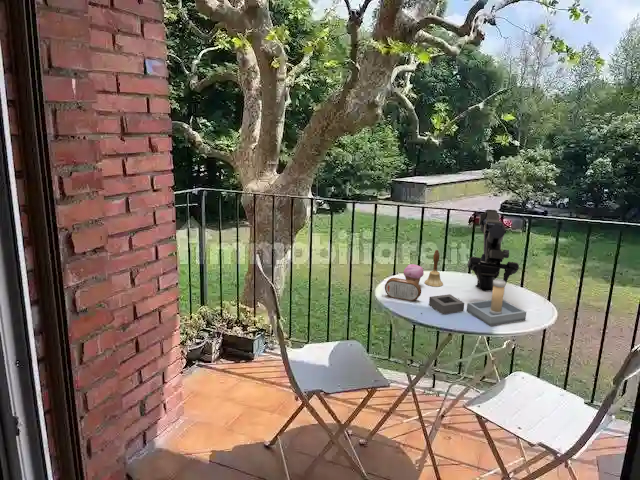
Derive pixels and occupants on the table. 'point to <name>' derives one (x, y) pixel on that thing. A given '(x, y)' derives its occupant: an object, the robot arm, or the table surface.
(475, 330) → the table surface
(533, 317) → the table surface
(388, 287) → the tin
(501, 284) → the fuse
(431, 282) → the hand bell
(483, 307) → the parts tray
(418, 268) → the cupcake
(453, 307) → the frame
